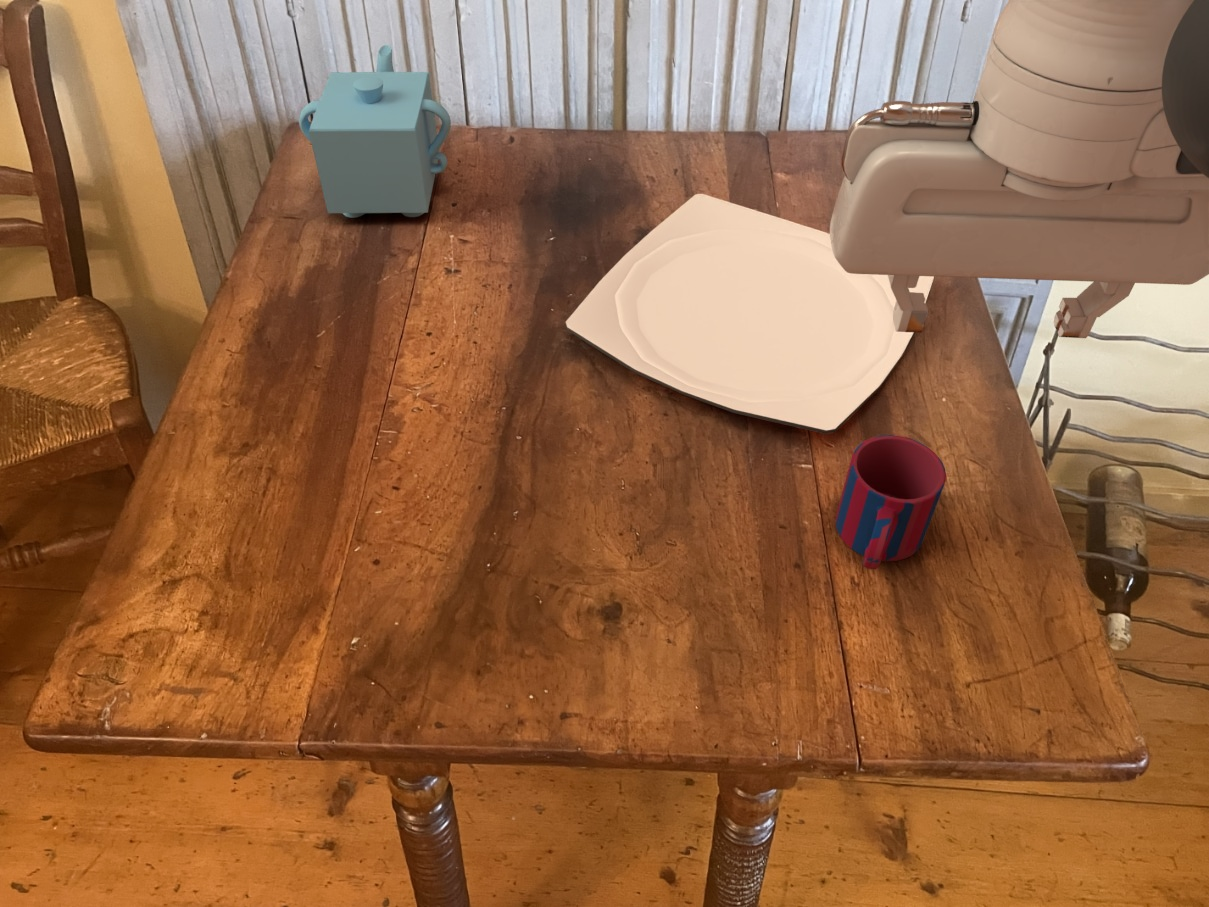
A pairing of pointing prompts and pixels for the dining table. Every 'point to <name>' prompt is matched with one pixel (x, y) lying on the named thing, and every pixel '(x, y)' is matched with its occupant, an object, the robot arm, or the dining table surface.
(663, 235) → the plate
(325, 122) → the teapot
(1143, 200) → the robot arm
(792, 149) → the dining table surface
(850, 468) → the mug
